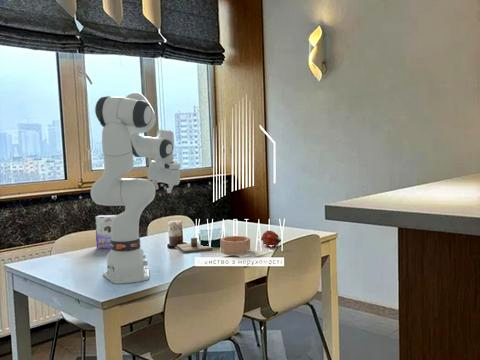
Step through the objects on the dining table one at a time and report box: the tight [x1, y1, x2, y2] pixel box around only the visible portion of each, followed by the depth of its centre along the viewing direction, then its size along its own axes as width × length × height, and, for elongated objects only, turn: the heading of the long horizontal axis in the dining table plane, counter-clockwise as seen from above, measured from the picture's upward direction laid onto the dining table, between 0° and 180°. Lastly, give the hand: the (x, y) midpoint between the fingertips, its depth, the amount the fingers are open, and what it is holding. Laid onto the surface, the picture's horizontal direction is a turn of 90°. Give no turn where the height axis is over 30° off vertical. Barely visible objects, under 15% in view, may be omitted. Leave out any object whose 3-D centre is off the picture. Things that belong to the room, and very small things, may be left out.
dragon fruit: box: [260, 230, 282, 246], centre depth 245 cm, size 8×8×12 cm
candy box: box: [94, 214, 118, 250], centre depth 247 cm, size 14×6×16 cm, turn 84°
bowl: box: [219, 235, 251, 255], centre depth 236 cm, size 14×14×6 cm
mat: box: [174, 246, 215, 255], centre depth 241 cm, size 16×16×1 cm
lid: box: [176, 237, 213, 254], centre depth 241 cm, size 14×14×5 cm
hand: (162, 191), depth 239 cm, fingers open, 8 cm apart
